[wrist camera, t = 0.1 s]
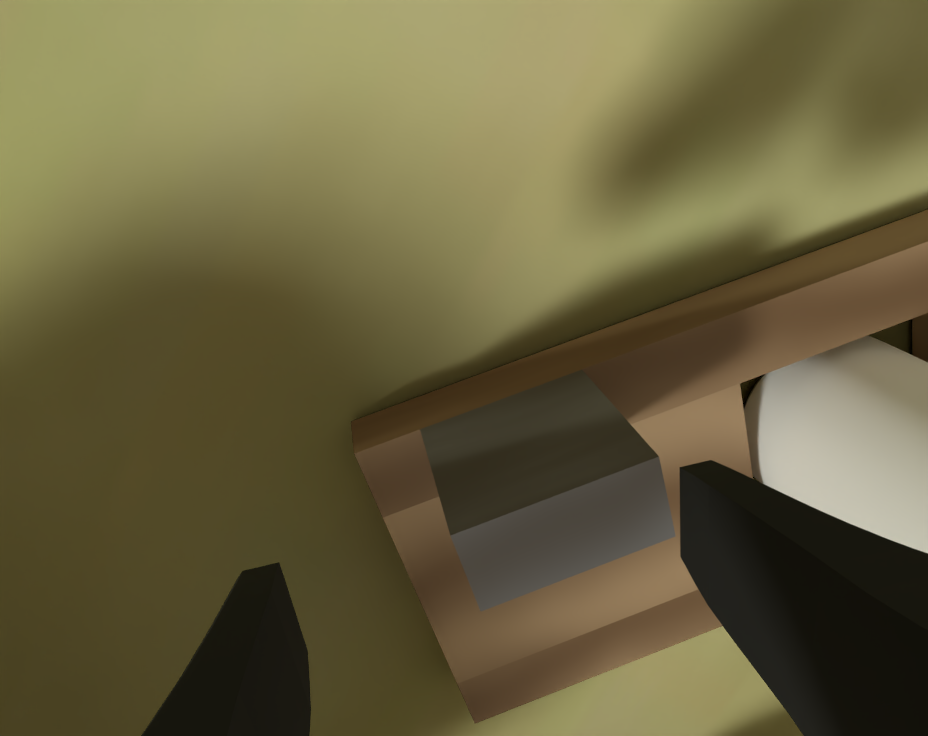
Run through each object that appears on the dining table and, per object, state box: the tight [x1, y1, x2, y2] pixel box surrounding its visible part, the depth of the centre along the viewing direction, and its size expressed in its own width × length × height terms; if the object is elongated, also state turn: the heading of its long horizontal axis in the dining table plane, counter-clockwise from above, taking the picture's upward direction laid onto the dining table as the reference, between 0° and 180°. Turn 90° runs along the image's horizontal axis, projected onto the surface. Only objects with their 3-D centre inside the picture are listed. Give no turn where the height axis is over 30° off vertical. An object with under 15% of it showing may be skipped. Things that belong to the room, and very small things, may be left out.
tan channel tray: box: [351, 210, 928, 723], centre depth 21 cm, size 12×21×7 cm, turn 107°
